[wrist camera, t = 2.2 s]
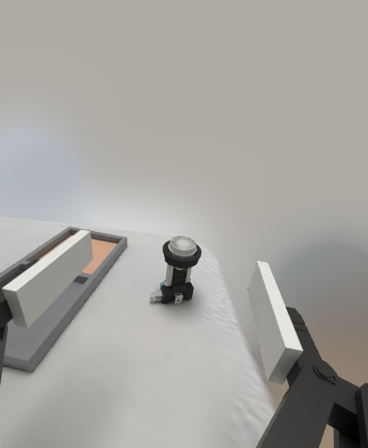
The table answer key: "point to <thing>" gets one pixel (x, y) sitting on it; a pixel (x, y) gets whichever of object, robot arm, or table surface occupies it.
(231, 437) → the table surface
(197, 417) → the table surface
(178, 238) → the push button
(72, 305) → the sorting tray
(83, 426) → the table surface
